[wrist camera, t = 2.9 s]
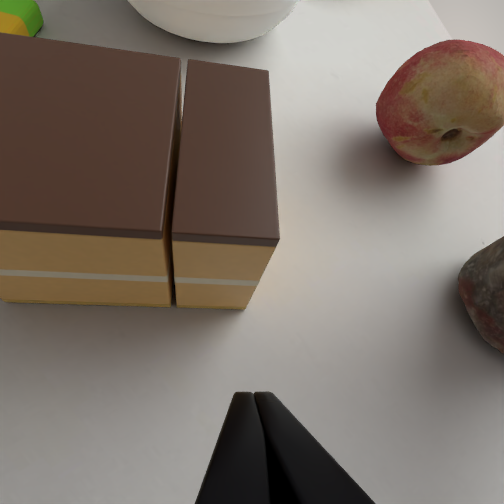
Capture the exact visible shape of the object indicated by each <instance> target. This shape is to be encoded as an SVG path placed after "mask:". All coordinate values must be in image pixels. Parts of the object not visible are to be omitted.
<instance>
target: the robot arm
mask: <svg viewBox="0 0 504 504" xmlns="http://www.w3.org/2000/svg"><path fill="white" fill-rule="evenodd" d="M195 504H375V502H374V501H373V500H372V499H371V498H370V497H369V496H368V495H367V494H366V493H365V492H364V491H363V490H362V488H361V487H360V486H359V485H358V484H357V483H356V482H355V481H354V480H353V479H352V478H351V477H350V476H349V475H348V473H347V472H346V471H345V470H344V469H343V468H342V467H341V466H340V465H339V464H338V463H337V462H336V461H335V459H334V458H333V457H332V456H331V455H330V454H329V453H328V452H327V451H326V450H325V449H324V448H323V447H322V445H321V444H320V443H319V442H318V441H317V440H316V439H315V438H314V437H313V436H312V435H311V434H310V433H309V432H308V430H307V429H306V428H305V427H304V426H303V425H302V424H301V423H300V422H299V421H298V420H297V419H296V418H295V416H294V415H293V414H292V413H291V412H290V411H289V410H288V409H287V408H286V407H285V406H284V405H283V404H282V403H281V401H280V400H279V399H278V398H277V397H276V396H275V395H274V394H273V393H271V392H255V393H254V394H253V393H251V392H235V393H234V395H233V398H232V400H231V403H230V406H229V409H228V412H227V415H226V417H225V420H224V423H223V426H222V429H221V431H220V434H219V437H218V440H217V443H216V446H215V448H214V451H213V454H212V457H211V460H210V462H209V465H208V468H207V471H206V474H205V476H204V479H203V482H202V485H201V488H200V491H199V493H198V496H197V499H196V502H195Z"/></svg>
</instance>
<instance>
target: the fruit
mask: <svg viewBox="0 0 504 504" xmlns="http://www.w3.org/2000/svg"><path fill="white" fill-rule="evenodd" d="M376 116H377V121H378V124H379V127H380V129H381V131H382V133H383V135H384V136H385V138H386V139H387V140H388V142H389V143H390V145H391V147H392V148H393V149H394V150H395V151H396V153H397V154H398V155H400V156H401V157H402V158H403V159H405V160H406V161H409V162H412V163H415V164H421V165H430V166H431V165H442V164H447V163H451V162H453V161H456V160H458V159H461V158H463V157H464V156H466V155H468V154H469V153H471V152H472V151H474V150H475V149H476V148H478V147H479V146H481V145H482V144H483V143H485V142H486V141H487V140H488V139H489V138H491V137H492V136H493V135H494V134H495V133H496V132H497V131H498V130H499V129H500V128H501V127H502V126H503V125H504V56H503V55H502V54H501V53H499V52H498V51H496V50H494V49H492V48H490V47H488V46H485V45H483V44H479V43H474V42H471V41H465V40H447V41H444V42H439V43H437V44H434V45H432V46H430V47H427V48H424V49H423V50H421V51H419V52H417V53H416V54H415V55H414V56H412V57H411V58H410V59H408V60H407V61H406V62H405V63H404V64H403V65H402V66H401V67H400V68H399V69H398V70H397V71H396V73H395V74H394V75H393V76H392V78H391V79H390V80H389V81H388V82H387V84H386V86H385V88H384V89H383V91H382V93H381V95H380V97H379V99H378V101H377V103H376Z"/></svg>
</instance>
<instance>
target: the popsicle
mask: <svg viewBox="0 0 504 504" xmlns="http://www.w3.org/2000/svg"><path fill="white" fill-rule="evenodd" d="M42 25H43V18H42V15H41V12H40V9H39V7H38V4H37V3H36V2H35V1H33V0H0V32H2V33H9V34H16V35H23V36H30V37H34V36H35V34H36V33H37V32H38V30H39V29H40V28H41V27H42Z"/></svg>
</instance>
